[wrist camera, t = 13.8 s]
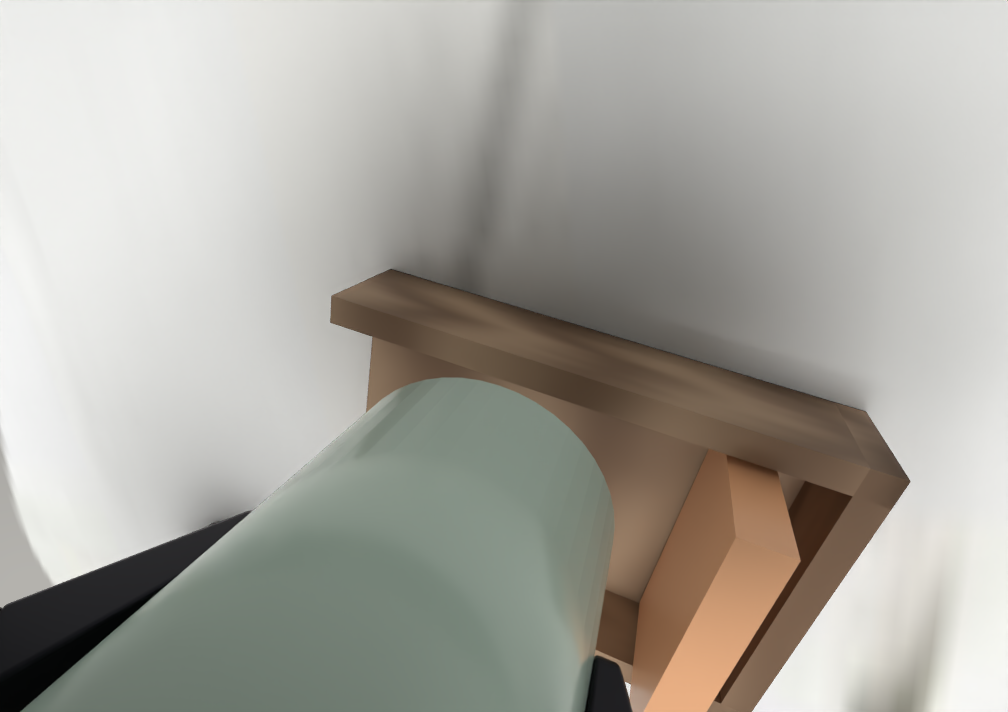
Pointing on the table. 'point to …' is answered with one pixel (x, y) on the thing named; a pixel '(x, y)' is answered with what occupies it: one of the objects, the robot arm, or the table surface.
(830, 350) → the table surface
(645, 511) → the brown wooden tray
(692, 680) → the tan wooden beam
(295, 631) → the jar
